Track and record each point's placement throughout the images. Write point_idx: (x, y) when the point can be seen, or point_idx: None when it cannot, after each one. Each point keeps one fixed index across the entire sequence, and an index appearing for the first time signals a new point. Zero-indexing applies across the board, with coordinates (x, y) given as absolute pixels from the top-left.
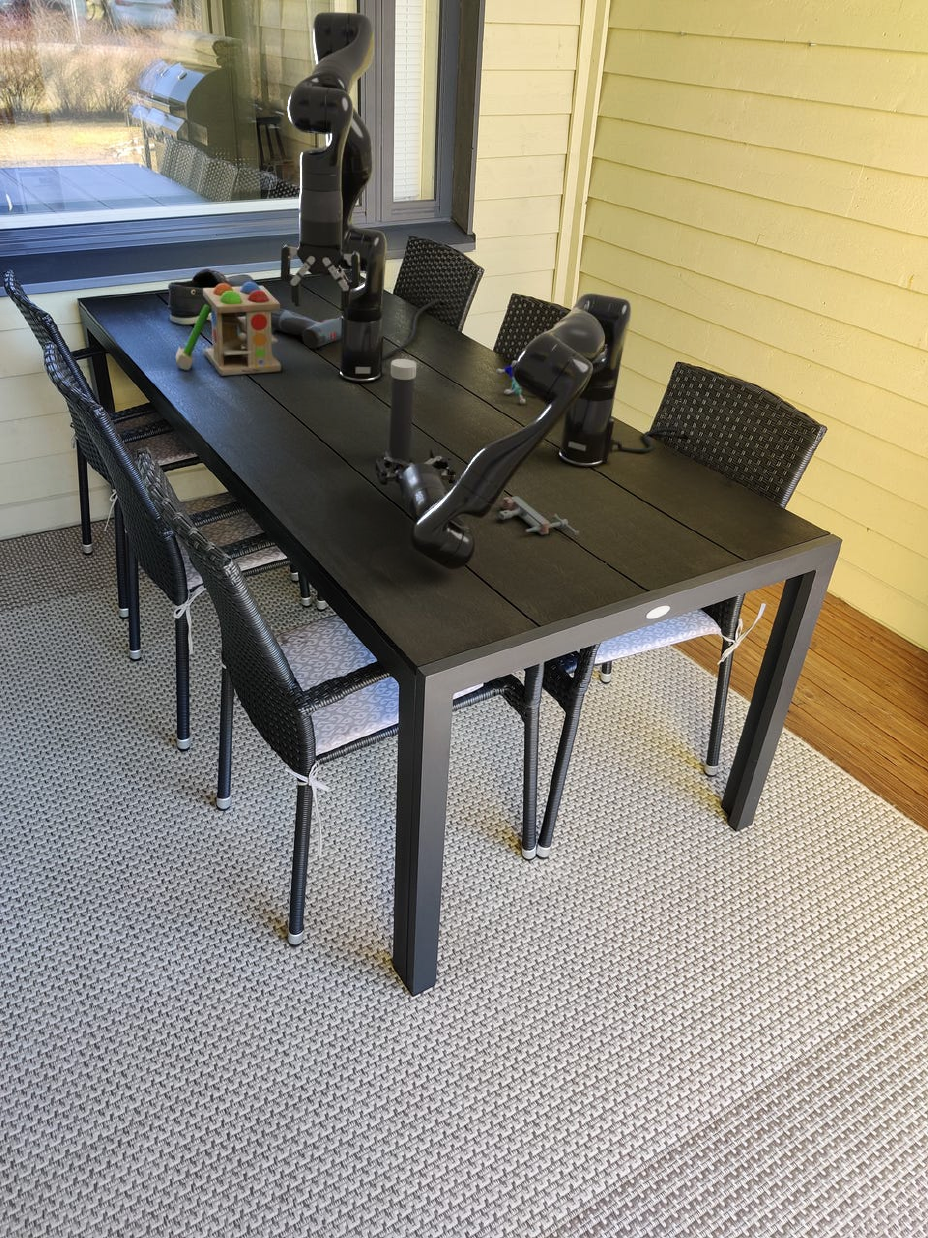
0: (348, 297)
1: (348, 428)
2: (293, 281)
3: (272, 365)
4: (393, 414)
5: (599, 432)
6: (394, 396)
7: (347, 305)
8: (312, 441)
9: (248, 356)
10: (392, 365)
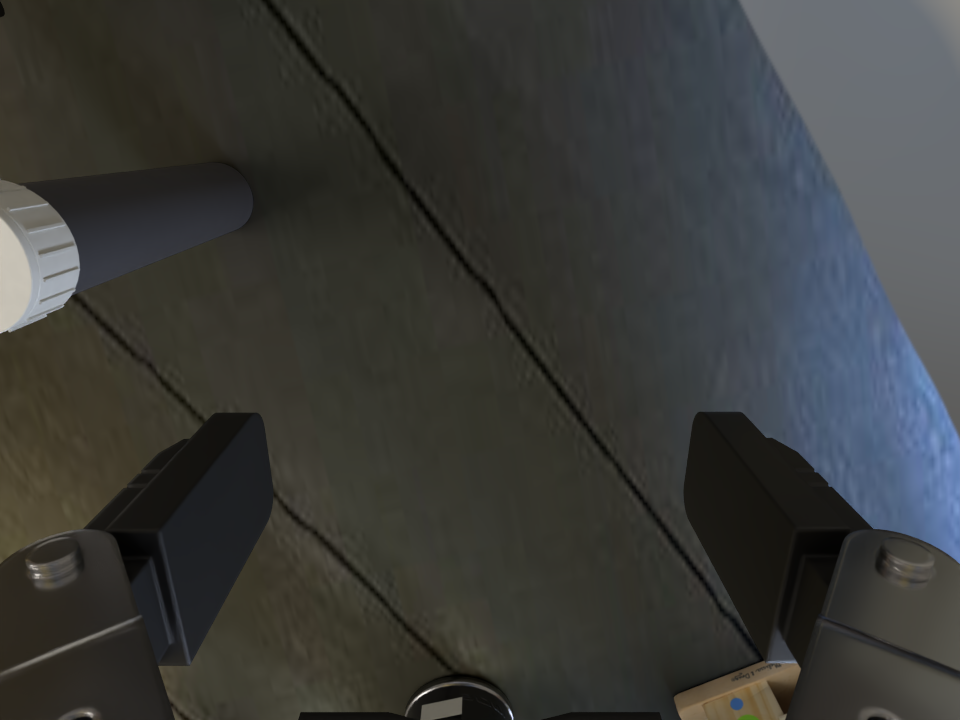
0: (115, 501)
1: (424, 393)
2: (920, 558)
3: (700, 703)
4: (150, 183)
5: None
6: (102, 192)
7: (174, 449)
8: (514, 277)
9: (779, 707)
10: (12, 223)
